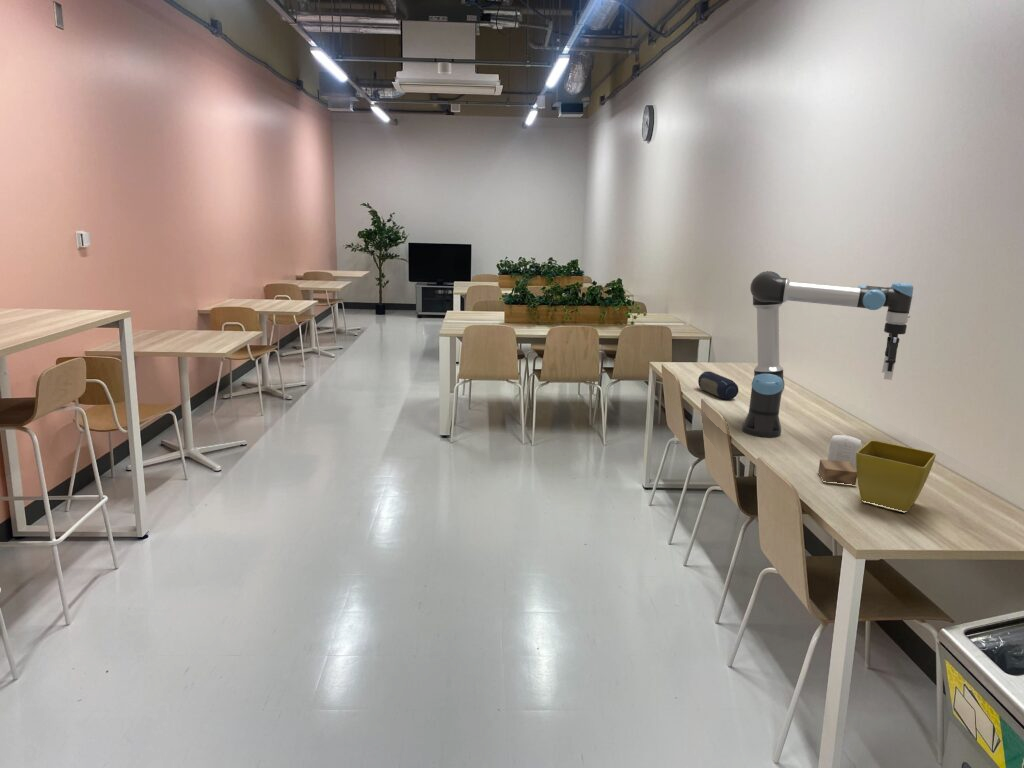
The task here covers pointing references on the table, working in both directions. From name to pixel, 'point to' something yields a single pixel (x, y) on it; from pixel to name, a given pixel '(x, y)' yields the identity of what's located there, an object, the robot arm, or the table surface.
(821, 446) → the table surface
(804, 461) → the table surface
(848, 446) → the photo printer
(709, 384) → the portable speaker
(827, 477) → the walnut block
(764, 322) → the robot arm
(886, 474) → the flower pot
